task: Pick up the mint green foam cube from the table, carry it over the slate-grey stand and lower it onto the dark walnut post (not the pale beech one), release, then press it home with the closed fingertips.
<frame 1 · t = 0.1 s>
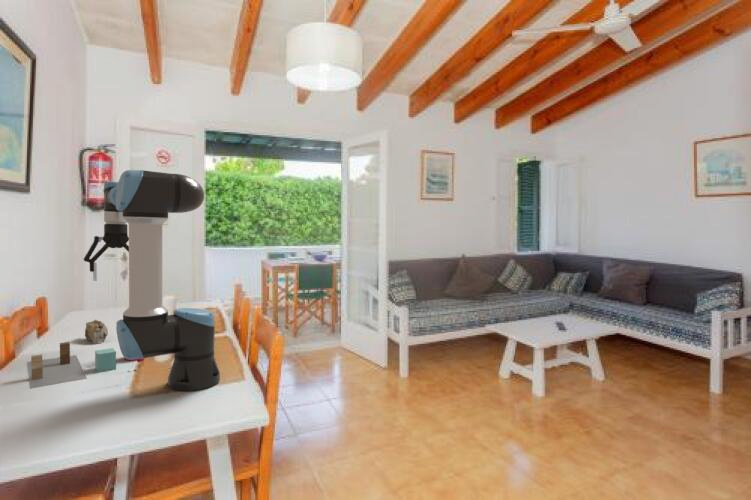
hand: (116, 279, 163), 28 cm above the table, fingers open, 13 cm apart
stand: (55, 371, 142), on the table
post beech: (37, 378, 134), resting on stand
rock: (96, 341, 180), on the table
mint green foam cube: (105, 370, 144), on the table
post walnut: (65, 363, 149), resting on stand
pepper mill: (134, 360, 156), on the table
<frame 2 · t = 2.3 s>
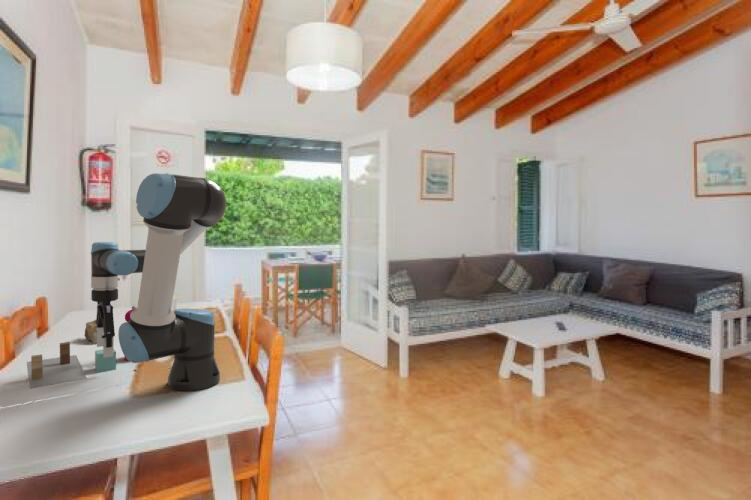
hand: (104, 351, 144), 6 cm above the table, fingers open, 13 cm apart
nothing on the table moved.
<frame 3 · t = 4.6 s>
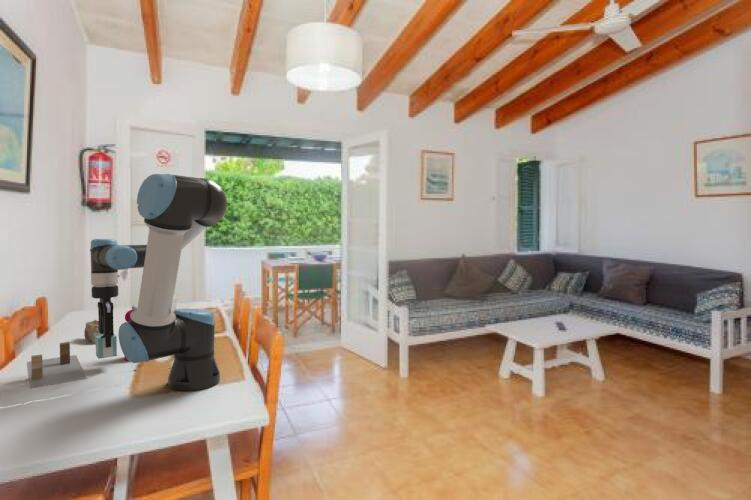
hand: (106, 354, 144), 6 cm above the table, fingers closed on mint green foam cube, 5 cm apart
mint green foam cube: (106, 355, 144), point 5 cm above the table, touching gripper
everything else where it was.
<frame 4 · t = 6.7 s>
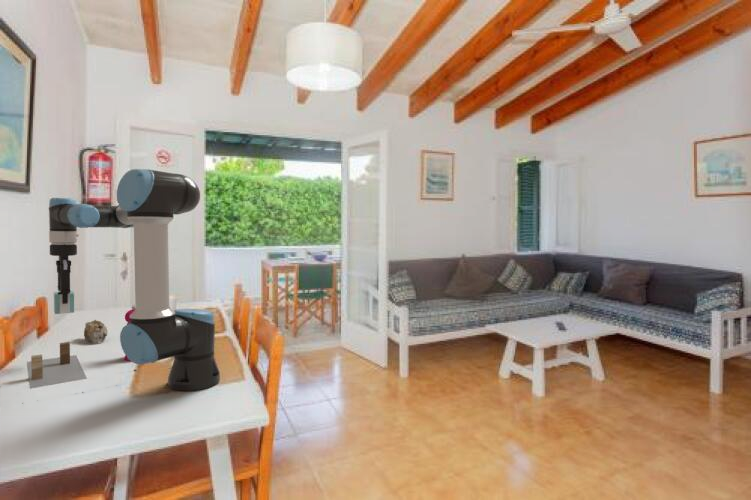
hand: (64, 311, 148), 19 cm above the table, fingers closed on mint green foam cube, 5 cm apart
mint green foam cube: (64, 311, 148), point 19 cm above the table, touching gripper
everything else where it was.
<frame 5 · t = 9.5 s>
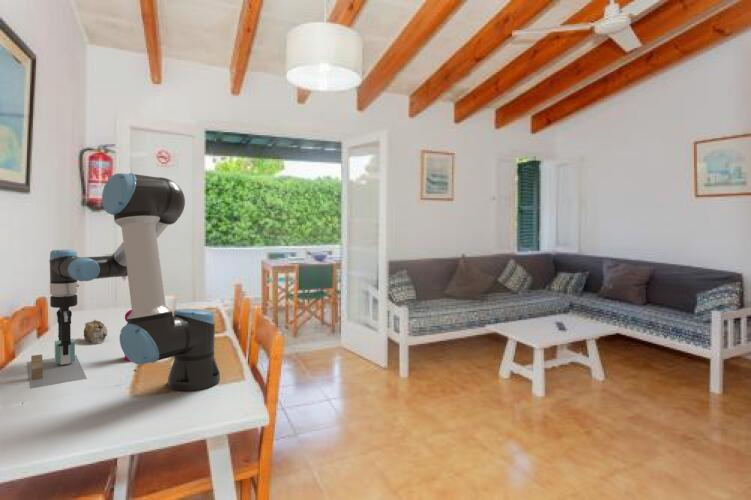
hand: (64, 361, 149), 1 cm above the table, fingers closed on mint green foam cube, 5 cm apart
mint green foam cube: (64, 360, 149), point 2 cm above the table, touching gripper, post walnut
everything else where it was.
when the fingers open (1 cm above the table, at t = 9.5 s): mint green foam cube stays where it is, resting on post walnut.
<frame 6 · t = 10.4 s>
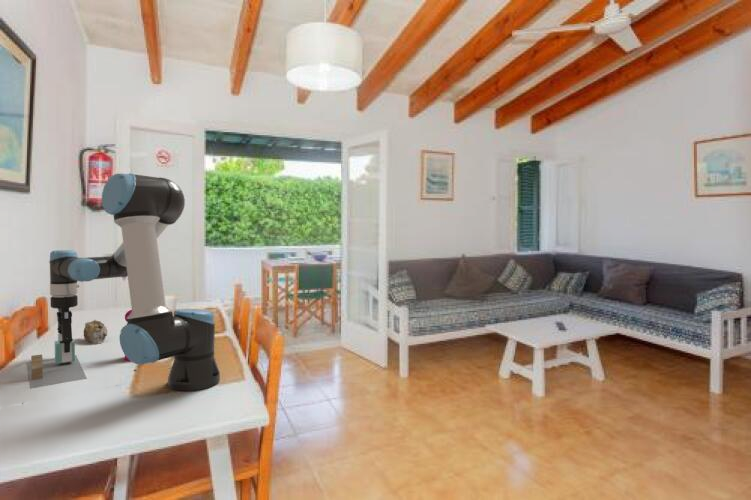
hand: (65, 356, 148), 3 cm above the table, fingers open, 13 cm apart
mint green foam cube: (64, 360, 149), point 2 cm above the table, touching post walnut
everything else where it was.
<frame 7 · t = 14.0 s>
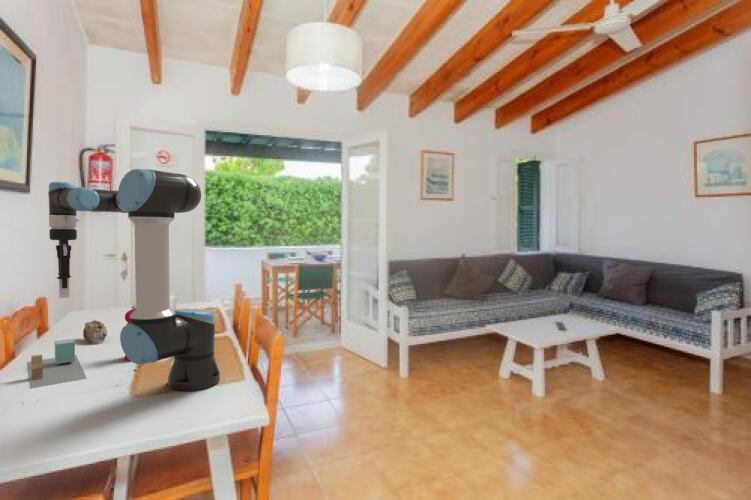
hand: (64, 297, 147), 24 cm above the table, fingers closed
nothing on the table moved.
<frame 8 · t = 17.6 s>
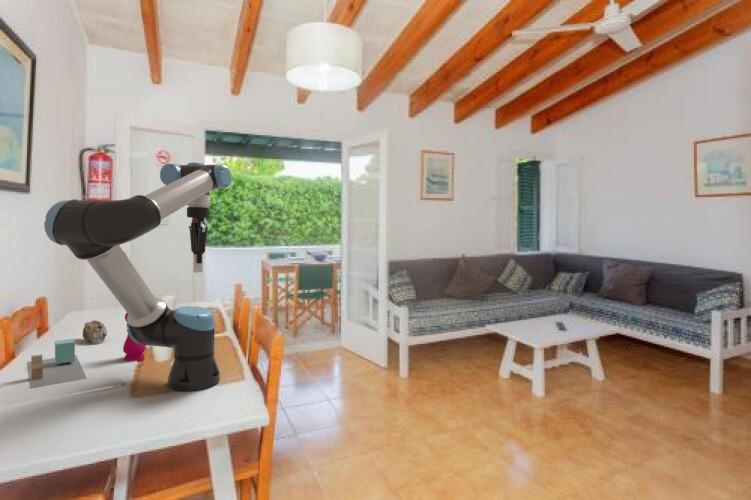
hand: (197, 272, 156), 32 cm above the table, fingers closed
nothing on the table moved.
at the end: mint green foam cube 0.1 cm from the post walnut (horizontally); mint green foam cube point 1.6 cm above the table; mint green foam cube tilted 0° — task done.
